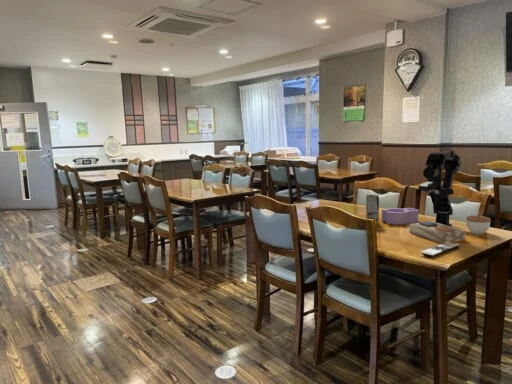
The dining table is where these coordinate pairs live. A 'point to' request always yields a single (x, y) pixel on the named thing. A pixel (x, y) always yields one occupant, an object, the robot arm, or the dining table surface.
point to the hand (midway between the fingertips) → (434, 205)
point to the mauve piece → (400, 215)
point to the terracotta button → (445, 229)
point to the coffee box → (372, 207)
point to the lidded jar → (478, 224)
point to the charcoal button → (428, 224)
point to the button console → (437, 233)
